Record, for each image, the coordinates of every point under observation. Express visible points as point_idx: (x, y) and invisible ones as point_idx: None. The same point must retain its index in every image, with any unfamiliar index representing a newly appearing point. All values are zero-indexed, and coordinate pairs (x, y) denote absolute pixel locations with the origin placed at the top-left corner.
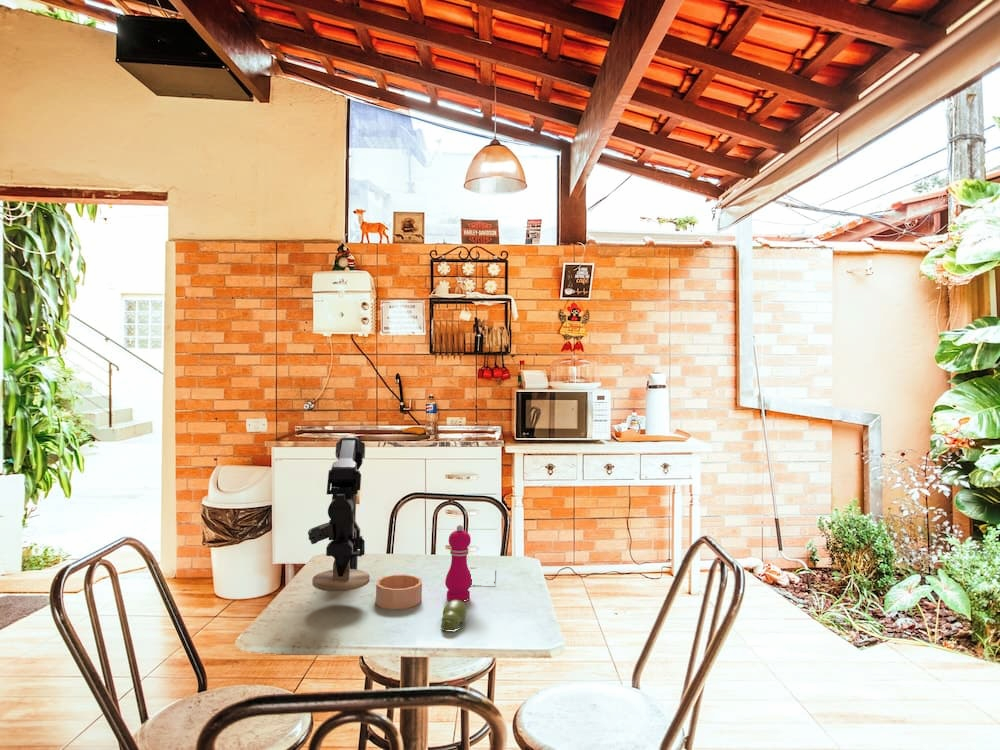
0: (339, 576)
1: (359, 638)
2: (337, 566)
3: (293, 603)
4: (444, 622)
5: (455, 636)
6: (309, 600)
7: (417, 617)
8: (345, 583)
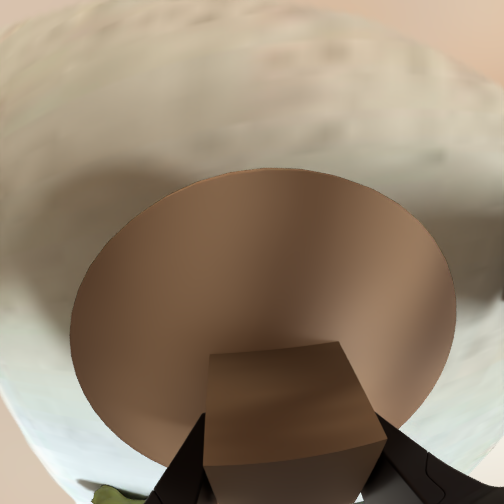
0: (204, 415)
1: (10, 363)
2: (163, 483)
3: (311, 63)
4: (94, 499)
5: (89, 489)
6: (347, 136)
7: (161, 473)
8: (152, 421)
